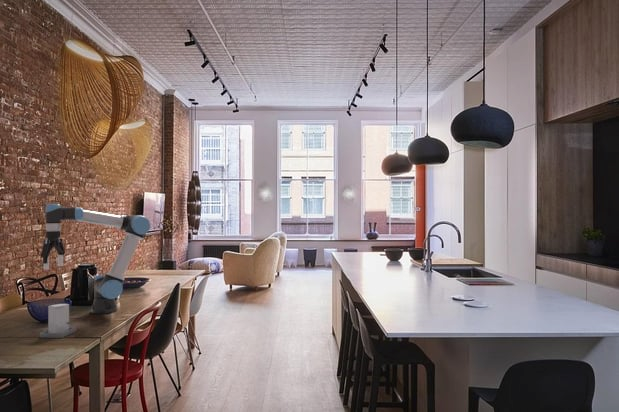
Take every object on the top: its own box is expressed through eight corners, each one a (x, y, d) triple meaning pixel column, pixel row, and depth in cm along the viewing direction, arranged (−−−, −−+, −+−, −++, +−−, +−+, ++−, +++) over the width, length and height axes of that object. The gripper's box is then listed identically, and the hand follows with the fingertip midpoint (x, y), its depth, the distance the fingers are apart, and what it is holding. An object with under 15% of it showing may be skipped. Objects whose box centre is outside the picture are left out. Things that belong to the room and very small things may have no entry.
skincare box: (54, 335, 243) (54, 306, 243) (47, 334, 246) (47, 305, 246) (69, 331, 251) (69, 303, 251) (62, 330, 254) (62, 302, 254)
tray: (53, 331, 255) (53, 327, 255) (76, 331, 254) (76, 327, 254) (39, 337, 242) (39, 333, 242) (63, 337, 242) (63, 333, 242)
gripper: (59, 229, 285) (59, 264, 286) (33, 232, 261) (33, 270, 261) (71, 229, 285) (71, 264, 285) (46, 232, 260) (46, 270, 260)
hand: (53, 267), depth 273 cm, fingers open, 13 cm apart
